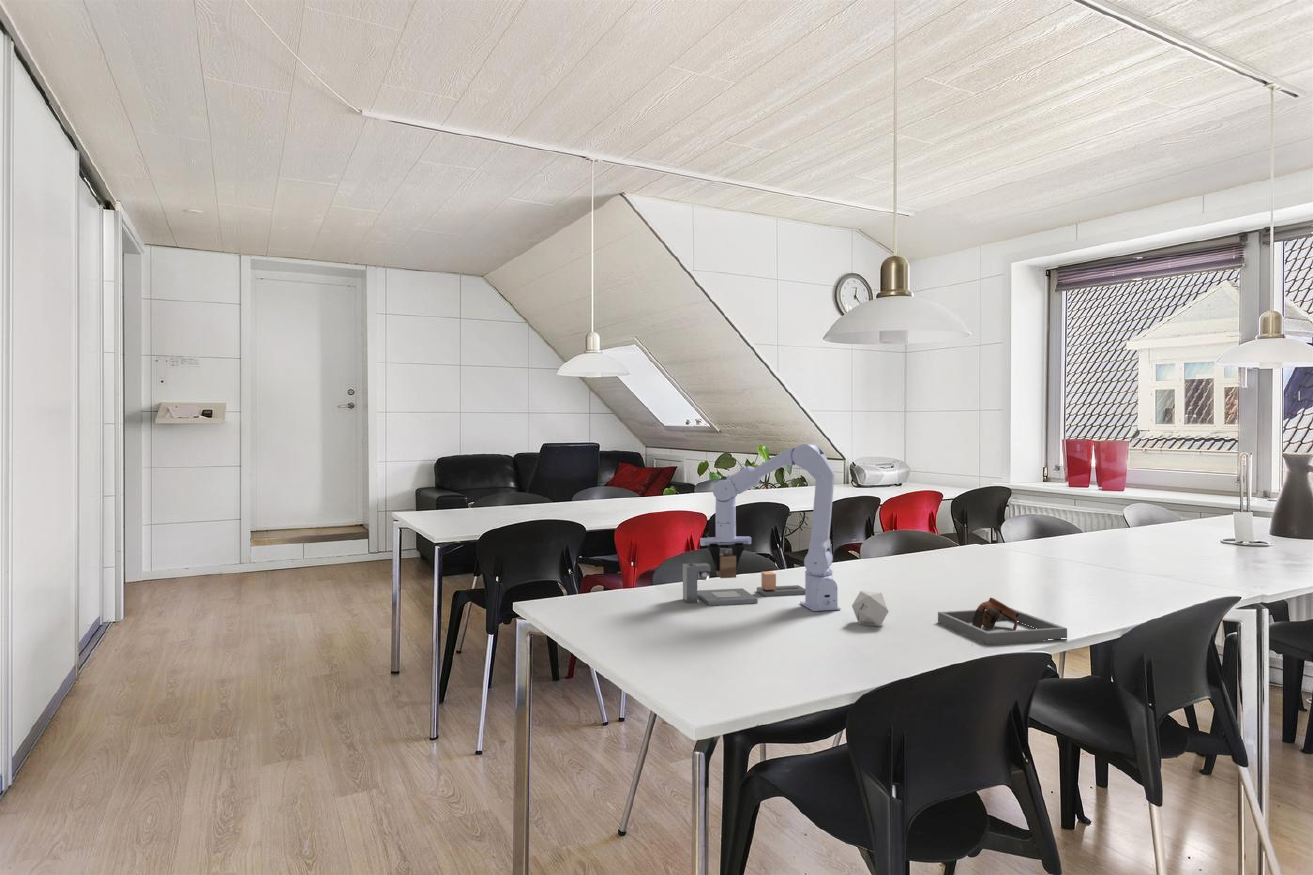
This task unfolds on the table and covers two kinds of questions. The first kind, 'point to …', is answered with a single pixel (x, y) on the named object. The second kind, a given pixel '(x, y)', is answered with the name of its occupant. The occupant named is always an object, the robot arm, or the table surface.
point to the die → (870, 608)
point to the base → (782, 591)
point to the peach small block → (768, 580)
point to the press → (710, 595)
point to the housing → (727, 565)
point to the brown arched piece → (993, 614)
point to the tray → (1042, 632)
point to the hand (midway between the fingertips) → (725, 570)
